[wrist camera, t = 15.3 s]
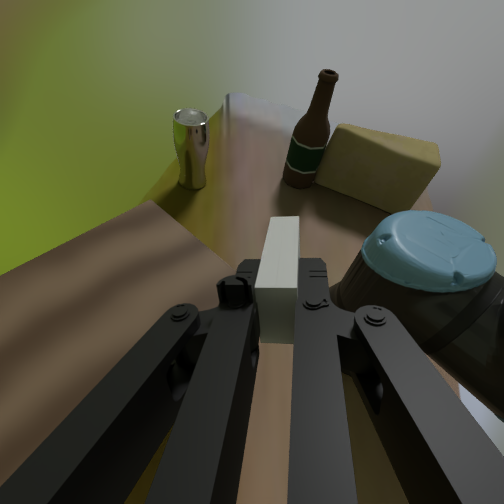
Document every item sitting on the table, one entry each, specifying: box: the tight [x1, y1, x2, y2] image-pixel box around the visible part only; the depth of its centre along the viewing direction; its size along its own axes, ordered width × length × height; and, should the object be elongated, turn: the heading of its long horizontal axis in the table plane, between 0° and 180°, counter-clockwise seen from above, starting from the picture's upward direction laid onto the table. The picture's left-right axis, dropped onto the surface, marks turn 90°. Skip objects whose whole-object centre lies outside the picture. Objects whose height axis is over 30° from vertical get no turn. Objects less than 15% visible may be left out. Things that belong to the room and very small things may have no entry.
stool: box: [0, 200, 236, 487], centre depth 33 cm, size 16×22×20 cm
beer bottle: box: [283, 69, 338, 189], centre depth 64 cm, size 8×8×24 cm
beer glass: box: [173, 108, 209, 190], centre depth 62 cm, size 7×7×15 cm
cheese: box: [314, 124, 441, 214], centre depth 67 cm, size 22×10×15 cm, turn 72°
